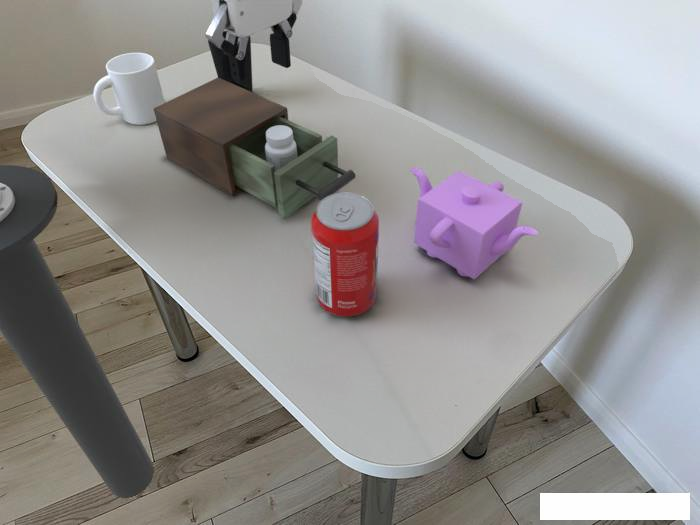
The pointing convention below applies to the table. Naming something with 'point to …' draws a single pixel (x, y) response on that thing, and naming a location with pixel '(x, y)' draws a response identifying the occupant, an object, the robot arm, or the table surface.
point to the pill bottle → (280, 146)
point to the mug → (132, 88)
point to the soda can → (345, 253)
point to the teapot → (466, 222)
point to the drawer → (288, 168)
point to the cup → (228, 62)
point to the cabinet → (212, 128)
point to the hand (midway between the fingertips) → (262, 73)
